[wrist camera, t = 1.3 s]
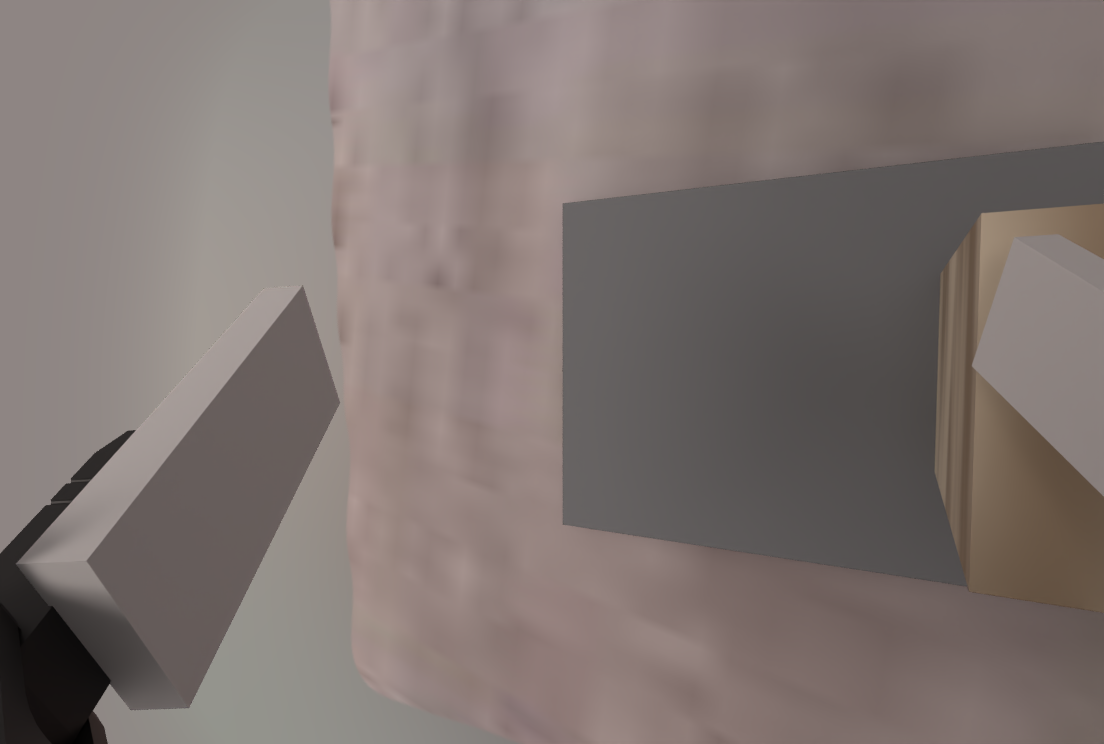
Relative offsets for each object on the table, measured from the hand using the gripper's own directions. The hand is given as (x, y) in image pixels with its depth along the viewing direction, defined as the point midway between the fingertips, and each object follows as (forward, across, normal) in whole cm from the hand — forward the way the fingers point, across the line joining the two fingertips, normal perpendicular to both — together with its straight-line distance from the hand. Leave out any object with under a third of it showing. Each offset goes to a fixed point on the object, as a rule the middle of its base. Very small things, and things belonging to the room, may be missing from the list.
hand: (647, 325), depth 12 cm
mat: (+14, +8, -10) cm, 19 cm away
